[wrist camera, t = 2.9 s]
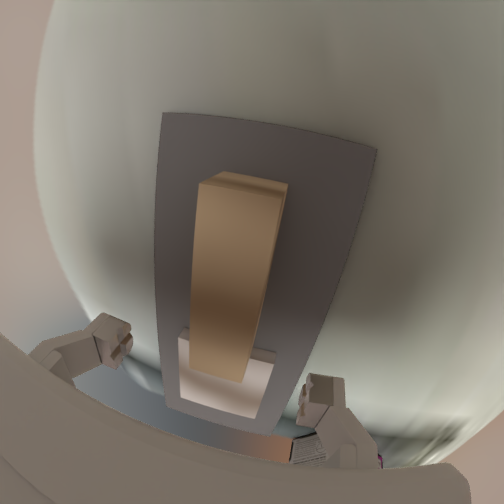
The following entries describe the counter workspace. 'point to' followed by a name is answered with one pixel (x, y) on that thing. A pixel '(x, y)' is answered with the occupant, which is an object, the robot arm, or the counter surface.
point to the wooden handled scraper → (230, 292)
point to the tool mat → (287, 246)
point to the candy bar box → (312, 452)
